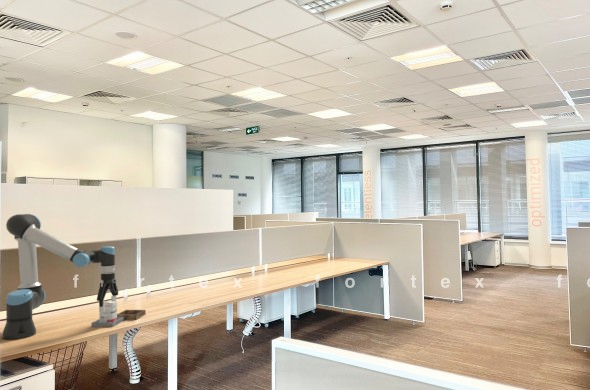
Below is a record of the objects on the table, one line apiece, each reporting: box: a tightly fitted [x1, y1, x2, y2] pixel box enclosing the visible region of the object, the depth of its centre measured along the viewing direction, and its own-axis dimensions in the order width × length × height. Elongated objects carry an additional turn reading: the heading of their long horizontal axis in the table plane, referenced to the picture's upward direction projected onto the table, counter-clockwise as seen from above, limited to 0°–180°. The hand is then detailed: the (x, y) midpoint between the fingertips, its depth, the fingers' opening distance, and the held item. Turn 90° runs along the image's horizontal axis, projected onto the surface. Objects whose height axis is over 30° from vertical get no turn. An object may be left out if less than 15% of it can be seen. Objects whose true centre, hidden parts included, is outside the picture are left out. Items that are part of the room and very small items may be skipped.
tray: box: [91, 317, 125, 328], centre depth 246 cm, size 13×13×2 cm
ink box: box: [99, 300, 118, 323], centre depth 246 cm, size 9×5×12 cm, turn 79°
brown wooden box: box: [117, 309, 146, 321], centre depth 260 cm, size 13×13×3 cm
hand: (108, 309), depth 246 cm, fingers open, 13 cm apart
